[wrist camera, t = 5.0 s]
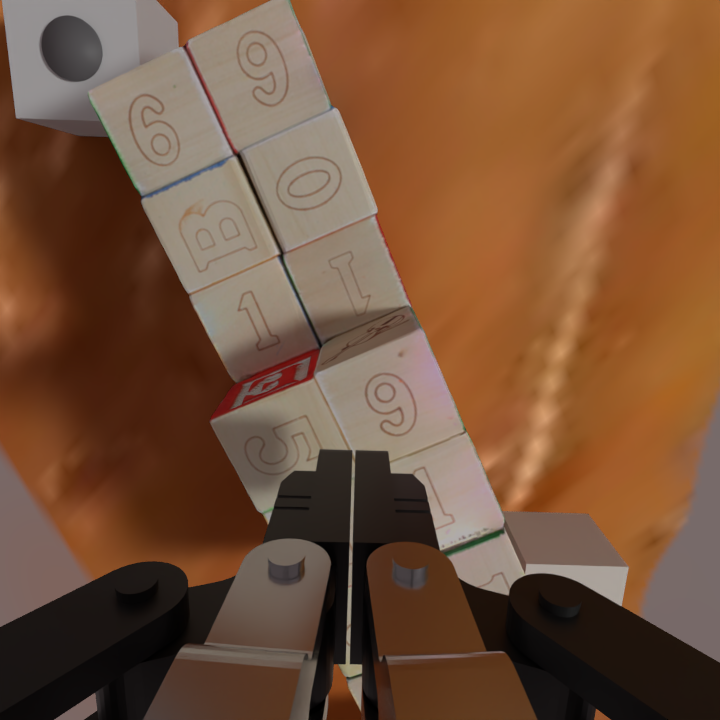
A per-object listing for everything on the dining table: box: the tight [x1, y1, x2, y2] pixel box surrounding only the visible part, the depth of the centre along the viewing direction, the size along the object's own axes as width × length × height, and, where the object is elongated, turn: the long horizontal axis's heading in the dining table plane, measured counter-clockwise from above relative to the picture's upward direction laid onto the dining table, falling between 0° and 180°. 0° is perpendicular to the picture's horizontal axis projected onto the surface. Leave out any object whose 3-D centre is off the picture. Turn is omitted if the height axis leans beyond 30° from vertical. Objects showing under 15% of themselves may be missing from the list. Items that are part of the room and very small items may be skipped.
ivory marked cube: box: [502, 511, 628, 606], centre depth 27 cm, size 4×4×5 cm
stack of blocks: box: [88, 0, 525, 712], centre depth 20 cm, size 21×6×12 cm, turn 23°
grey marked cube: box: [2, 0, 179, 137], centre depth 21 cm, size 4×4×5 cm
